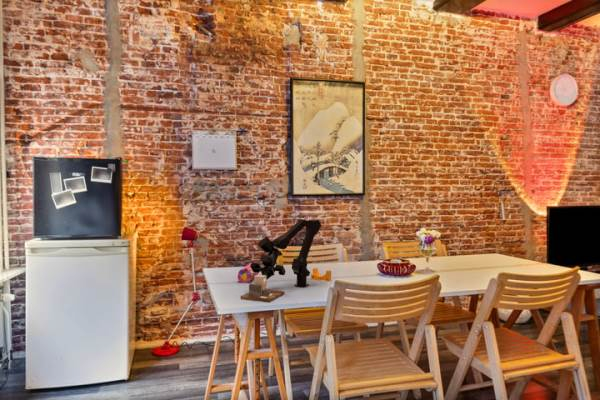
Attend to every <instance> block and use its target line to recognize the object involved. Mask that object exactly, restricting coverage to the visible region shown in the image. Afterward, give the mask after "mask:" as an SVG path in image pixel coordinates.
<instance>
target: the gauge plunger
mask: <svg viewBox="0 0 600 400" xmlns="http://www.w3.org/2000/svg"><path fill="white" fill-rule="evenodd" d="M266 279H267V276H266V275H262V274H258V275H256V276H254V278H253V281H254V282H253V284H260V285H261V295H262V290H265V286H266V287H267V283H268V282H267V280H268V279H267V280H266ZM269 295H270V291H269Z"/></svg>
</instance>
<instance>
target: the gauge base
mask: <svg viewBox="0 0 600 400" xmlns="http://www.w3.org/2000/svg"><path fill="white" fill-rule="evenodd" d="M266 290H269V291H270V295H268V296H264V295H261V285H260V284H254V283H249V284H248V292H247V293H245V294H242V295H240V299H241V300H247V301H255V302H260V303H261V302H262V303H271V302H273V301H275V300H276V299H278V298H280V297H282V296H284V295H285V291H283V290H274V289H267V288H266Z"/></svg>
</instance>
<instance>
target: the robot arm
mask: <svg viewBox="0 0 600 400" xmlns="http://www.w3.org/2000/svg"><path fill="white" fill-rule="evenodd" d="M321 227H322V223H321V221H320V220H317V219H301V218H299V220H297V222H296V223H295V224H294V225H293V226H291V227H290V228H289V229H288V230H287V231H286V232H285V233H284V234H281V235H279V236H278V237H276V238H275V239H274V240H272V241H271V239H270V238H269V237H267V236H264V238H262V239H260V240H259V242H258V243H257V246H258V248H259V249H261V251H262V252H264V253H267V254H260V259H259V261H260V262H261V264H260V263H259V262H250V263H251V265H250V267H251V269H252V271H253V272H256V273H258V274H259V273H261V275H266V276H267V279H266V280H268V279H270V278H271V277H273V276H275V272H278V275H279V276H285V275H286V268H285V267H284V265H282V264H278V262H277V261H278V258H279V257H280V256H283V253H282V251H281V250H286V249H287V248H288V247H289V245H290V243H291V241H292V240H293V238H294V237H296V236H297V234H299V233H300V232H301V231H302V230H303V229H304V228H305V232H306V233H305V237H304V239H303V242H302V246H301V248H300V251H299V253H298V256H297V257H296V258H295V257H294V258H293V259H292V262H291V269H292V272H293V274H294V275H296V284H294V287H297V288H298V287H299V288H306V287H308V286H309V284H308V283H307V279H308V277H309V276H311V272H310V270H309V269H308V268H307V267H308V261H307V259H308V256H309V253H310V250H311V247H312V244H313V241H314V239H315V236H316V235H317V234H318V233H319V231H320V229H321Z"/></svg>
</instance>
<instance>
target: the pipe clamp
mask: <svg viewBox="0 0 600 400" xmlns="http://www.w3.org/2000/svg"><path fill="white" fill-rule="evenodd" d="M310 280H314V281H323V280H324V281H325V282H331V281H332V270H331V269H328V270H325V274H324V275H322V274H320V272H319V270H318V267H314V268H312V273H310Z"/></svg>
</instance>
